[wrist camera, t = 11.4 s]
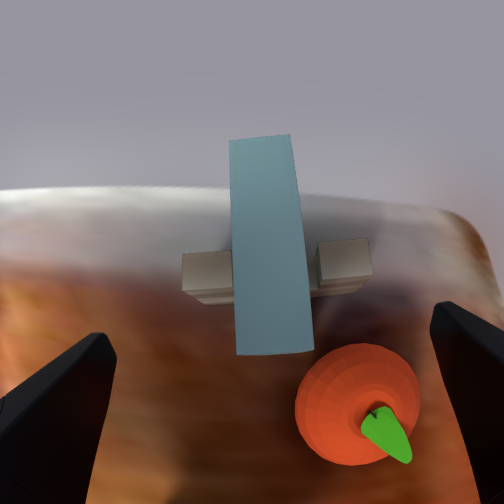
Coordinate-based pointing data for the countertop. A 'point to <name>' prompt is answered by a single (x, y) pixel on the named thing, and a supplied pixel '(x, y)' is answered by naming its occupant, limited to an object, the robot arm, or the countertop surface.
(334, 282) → the birch slotted plate
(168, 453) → the countertop surface
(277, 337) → the teal slotted plate
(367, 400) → the clementine
